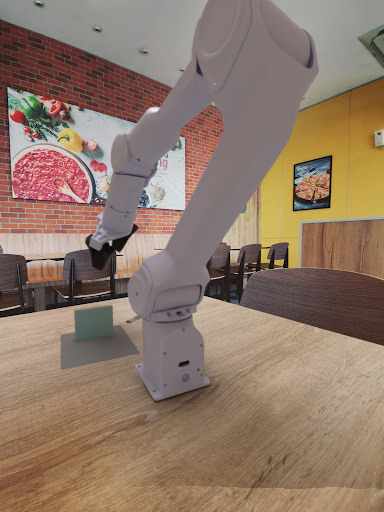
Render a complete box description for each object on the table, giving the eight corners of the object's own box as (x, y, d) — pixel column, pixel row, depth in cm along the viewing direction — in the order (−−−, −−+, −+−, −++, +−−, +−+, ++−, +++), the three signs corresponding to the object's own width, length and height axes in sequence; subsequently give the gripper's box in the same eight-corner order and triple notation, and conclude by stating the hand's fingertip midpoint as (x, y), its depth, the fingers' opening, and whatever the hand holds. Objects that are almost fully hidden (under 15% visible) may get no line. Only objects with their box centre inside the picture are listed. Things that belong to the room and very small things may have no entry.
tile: (113, 335, 52) (112, 305, 51) (75, 341, 49) (74, 310, 48) (112, 333, 53) (111, 304, 52) (75, 339, 50) (74, 309, 49)
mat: (139, 355, 44) (139, 352, 44) (61, 372, 38) (60, 369, 38) (120, 326, 58) (120, 325, 58) (60, 336, 53) (60, 334, 52)
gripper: (121, 184, 54) (108, 235, 61) (78, 207, 42) (68, 267, 49) (151, 200, 54) (134, 249, 61) (117, 227, 42) (101, 284, 49)
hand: (107, 258), depth 55 cm, fingers open, 7 cm apart
